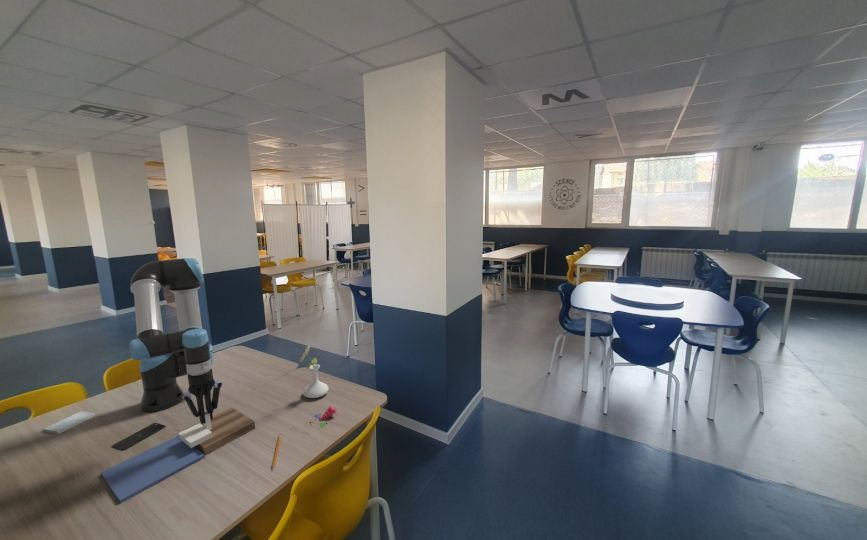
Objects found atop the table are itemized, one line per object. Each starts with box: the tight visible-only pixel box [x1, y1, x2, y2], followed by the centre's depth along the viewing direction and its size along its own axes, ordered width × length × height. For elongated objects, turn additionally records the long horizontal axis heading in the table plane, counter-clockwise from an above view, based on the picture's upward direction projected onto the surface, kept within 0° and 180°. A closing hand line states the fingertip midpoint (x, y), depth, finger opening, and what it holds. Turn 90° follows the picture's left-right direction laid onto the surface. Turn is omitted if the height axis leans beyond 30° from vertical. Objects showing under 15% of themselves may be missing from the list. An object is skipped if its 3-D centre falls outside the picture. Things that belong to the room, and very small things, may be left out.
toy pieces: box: [304, 406, 338, 429], centre depth 138 cm, size 12×11×4 cm
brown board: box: [182, 407, 256, 456], centre depth 131 cm, size 18×18×3 cm
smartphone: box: [111, 422, 167, 452], centre depth 130 cm, size 7×1×15 cm
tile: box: [177, 422, 213, 448], centre depth 124 cm, size 10×7×2 cm
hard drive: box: [42, 411, 96, 435], centre depth 138 cm, size 2×8×12 cm
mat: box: [100, 435, 206, 504], centre depth 114 cm, size 20×22×1 cm
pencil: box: [271, 433, 282, 472], centre depth 121 cm, size 1×1×19 cm
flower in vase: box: [299, 345, 330, 399], centre depth 156 cm, size 13×11×25 cm
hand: (207, 429), depth 128 cm, fingers closed
